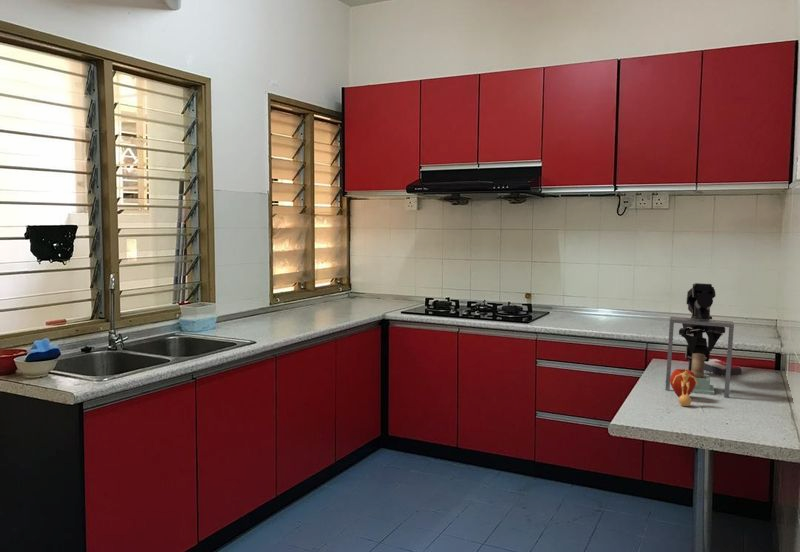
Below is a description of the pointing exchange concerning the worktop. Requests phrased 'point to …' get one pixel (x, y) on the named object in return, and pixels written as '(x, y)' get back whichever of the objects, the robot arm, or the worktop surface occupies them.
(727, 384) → the grey table frame
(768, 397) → the worktop surface
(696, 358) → the peg
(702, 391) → the socket block
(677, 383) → the apple
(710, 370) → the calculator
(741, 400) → the worktop surface
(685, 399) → the figurine
